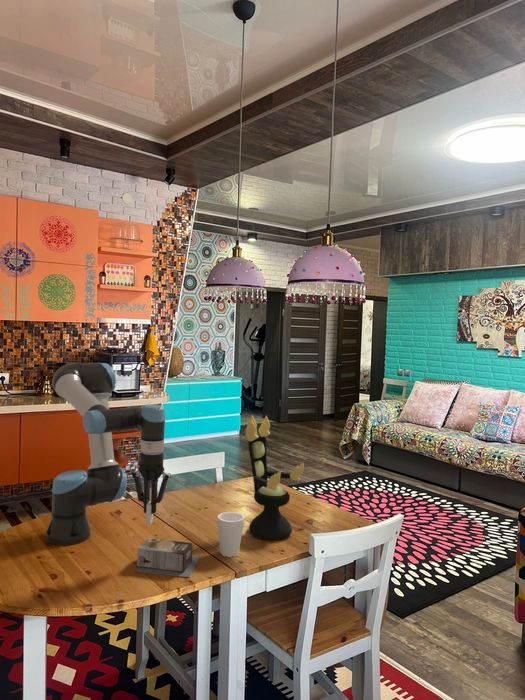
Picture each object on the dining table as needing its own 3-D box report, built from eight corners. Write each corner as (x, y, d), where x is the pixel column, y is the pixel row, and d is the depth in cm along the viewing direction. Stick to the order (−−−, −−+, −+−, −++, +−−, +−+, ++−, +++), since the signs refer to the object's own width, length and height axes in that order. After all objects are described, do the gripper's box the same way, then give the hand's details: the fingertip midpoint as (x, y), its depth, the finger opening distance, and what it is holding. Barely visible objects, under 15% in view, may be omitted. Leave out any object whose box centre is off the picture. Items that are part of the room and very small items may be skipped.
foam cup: (210, 552, 183) (212, 515, 182) (230, 545, 189) (232, 510, 189) (228, 561, 176) (229, 523, 175) (248, 554, 182) (249, 517, 182)
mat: (135, 572, 165) (135, 571, 165) (151, 552, 180) (151, 551, 180) (189, 577, 163) (189, 577, 163) (200, 557, 178) (200, 556, 178)
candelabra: (277, 547, 189) (282, 424, 187) (227, 532, 201) (232, 416, 199) (301, 531, 205) (307, 418, 203) (254, 518, 217) (259, 411, 215)
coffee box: (148, 536, 177) (193, 542, 174) (147, 555, 177) (192, 560, 175) (137, 547, 168) (184, 553, 165) (136, 567, 168) (184, 573, 165)
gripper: (128, 453, 168) (126, 525, 169) (167, 456, 166) (165, 528, 167) (137, 448, 176) (134, 516, 177) (174, 451, 174) (171, 520, 175)
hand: (149, 522), depth 172 cm, fingers closed
